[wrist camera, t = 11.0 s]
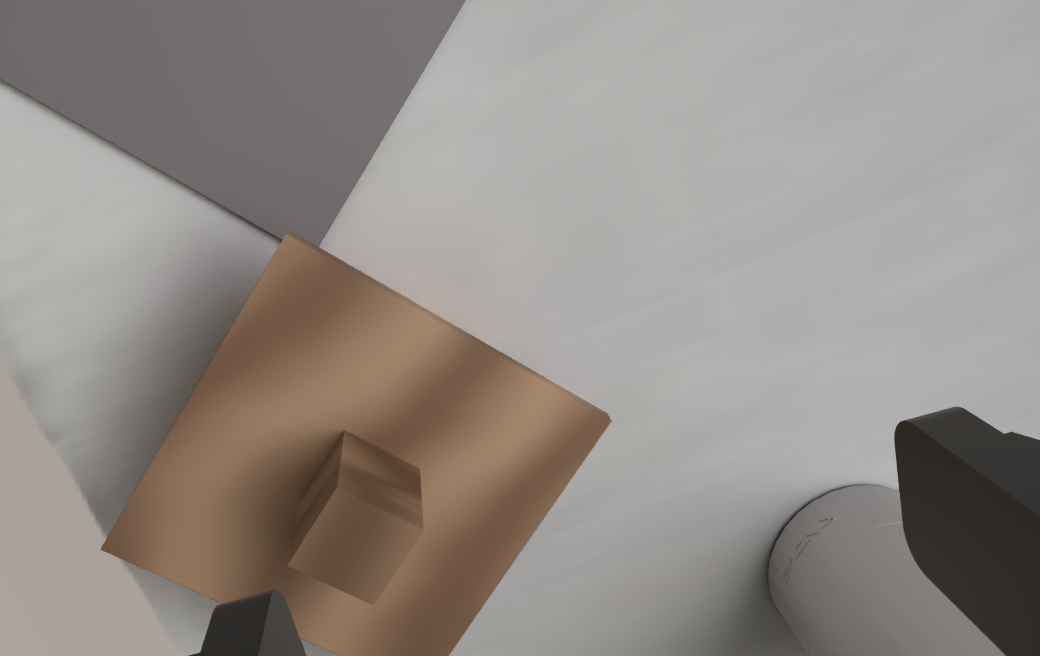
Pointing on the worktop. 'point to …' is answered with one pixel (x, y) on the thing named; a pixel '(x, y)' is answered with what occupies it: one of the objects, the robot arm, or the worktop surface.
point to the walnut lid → (354, 464)
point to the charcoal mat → (232, 89)
